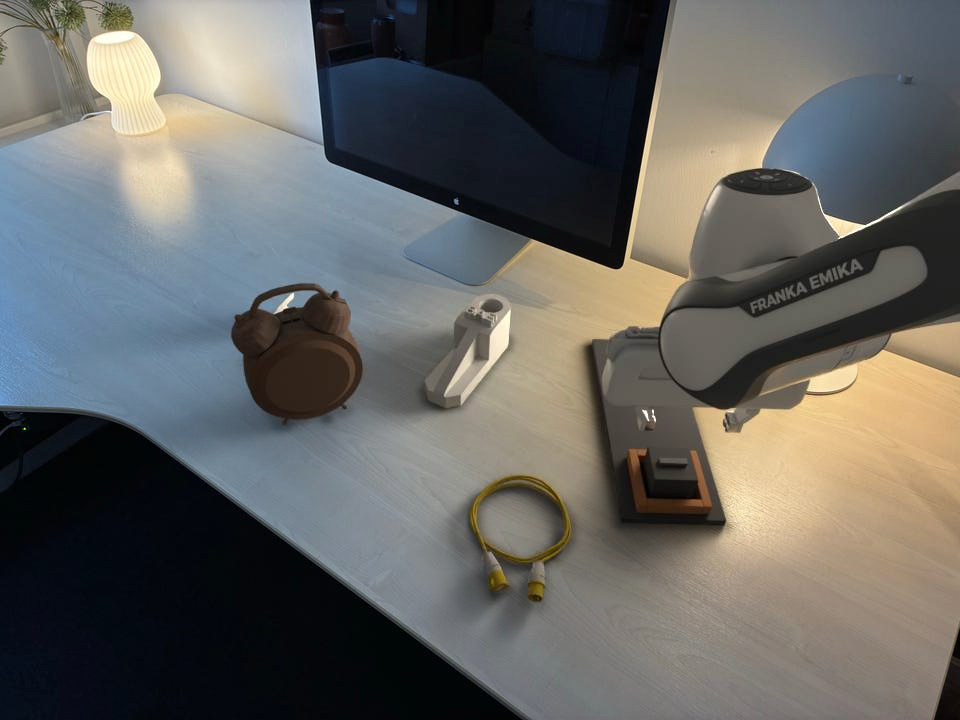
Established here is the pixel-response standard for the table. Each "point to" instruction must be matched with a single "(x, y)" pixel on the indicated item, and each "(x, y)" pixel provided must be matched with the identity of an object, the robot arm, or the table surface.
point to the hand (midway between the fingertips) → (687, 427)
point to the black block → (669, 473)
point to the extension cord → (493, 567)
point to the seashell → (284, 304)
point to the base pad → (630, 452)
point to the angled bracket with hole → (471, 350)
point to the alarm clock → (299, 354)
